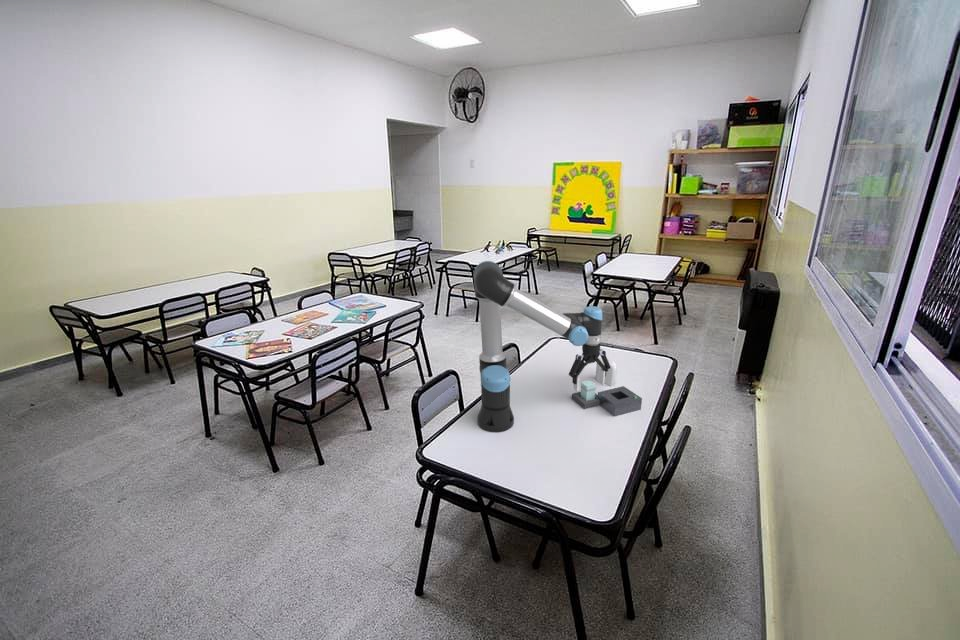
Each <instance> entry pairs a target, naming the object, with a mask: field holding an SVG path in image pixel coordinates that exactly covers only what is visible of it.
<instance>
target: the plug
mask: <svg viewBox="0 0 960 640" xmlns="http://www.w3.org/2000/svg"><path fill="white" fill-rule="evenodd" d="M596 391H597V385H596V383H594V382H593V381H591V380H587V381H582V382H580V392H581V394H580V397H581V398H583V399H584V400H585V401H588V400H592V399H595V393H596Z"/></svg>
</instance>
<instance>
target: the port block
mask: <svg viewBox="0 0 960 640" xmlns="http://www.w3.org/2000/svg"><path fill="white" fill-rule="evenodd" d="M597 395H598V396H597V398H598V399H599V400H600V407H601V408H602V409H603V410H605V411H607V413H609V414H610V415H611V416H612V417H614V418H615V417H618V416H622V415H625V414H629V413H633V412H637V411H640V410H642V401H643V398H642V397H641V396H639V395H638V394H637V393H635V392H633V391H631V390H630V389H629V388H628V387H625V386H624V385H622V386H619V387H618V386H617V387H614V388H610V389H607V390H602V391H598V392H597Z"/></svg>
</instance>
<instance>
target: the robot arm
mask: <svg viewBox="0 0 960 640" xmlns="http://www.w3.org/2000/svg"><path fill="white" fill-rule="evenodd" d="M472 277H473V281H474V282H473V283H474V284H473V285H474V296H475V298H476V300H477V299H478V302H479V320H480V321H479V322H480V333H481V335H480V336H481V348H482V349H481V350H482V352H481V353H479V356H478V357H479V358H478V360H479V366H478V367H479V368H478V369H479V374H480V387H481V388H480V389H481V392H480V394H481V406H480V410H479V413H478V416H477V424H478V426H479V427H480V428H481V429H482V430H484V431H487V432H490V433H501V432H505V431H508V430H509V429H511V428H512V427H513V426H514V424H515V417H514V416H515V415H514V414H513V410H512V408H511V374H510V371H509V370H508V365H507V364H508V363H507V354H506V353H505V352H504V351H503V336H502V334H503V333H502V316H501V315H502V313H501V312H502V311H501V307H507V308H510V309H511V310H514V311H516V312H517V313H519V314H521V315H523V316H524V317H526V318H528V319H530V320H532V321H534V322H536V323H537V324H539V325H542V326H543V327H544V328H546V329H548V330H550V331H552V332H554V333H556V334H557V335H560V336H561V337H563V338H564V339H566V340H568V341H569V342H570V343H571V344H572V346H575V347H581V346H582V347H581V350H582V353H581V354H575V358H574V361H573V363H572V366H571V368H570V370H569V372H568V376H570V377H571V378H572V384H573V390H574V391H576V392H579V391H580V390H579V389H580V388H579V386H580V377H579V376H580V374H581V373H582V371H584V368H585V367H586V366H588V364H593V363H596V365H597V364H598V365H599V366H600V367H601V368H602V369H600V378H599V381H598V382H599V384H601V385H602V386H605V384H604V382H605V377H606V372H608V369H610V368H611V367H610V364H609V362H608V360H609V359H608V357H607V353H606V351H605V350H604V349H601V342H602V340H601V339H602V325H603V310H602V308H601V307H599V306H594V305H593V306H592V305H591V306H585V308H584V309H583V312H566V313H565V312H563V313H562V312H559V311H558V310H556V309H554V308H552V307H551V306H548V305H546V304H545V303H543V302H542V301H539V299H536V298H534V297H533V296H531V295H529V294H528V293H526V292H524V291H522V290H521V289H518V288H517V287H516V284H515V283H513V282H511V281H510V280H508V279H507V278H506V277H505V276H504V274H503V270H502V267H501V266H500V265H498V264H497V263H496V262H494V261H492V260H484V261H482V262H479V264H477V266H476V267H475V268H474V269H473V276H472ZM599 356H600V358H602V360H603V363H604V365H605V366H604V365H603V363H602V362H601V361H600V360H599V359H600V358H599ZM607 359H608V360H607Z"/></svg>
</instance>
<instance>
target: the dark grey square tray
mask: <svg viewBox="0 0 960 640" xmlns="http://www.w3.org/2000/svg"><path fill="white" fill-rule="evenodd" d="M580 394H581V391H576V392H573V393H571V400H572V401H574V402H575V403H576V404H577V405H578V406H580V407H581V408H582V409H583V410H588V409H591V408H596V407H599V406H600V400H599V399H598V398H597V396H598V393H596V392H595V399H592V400H588V401H585V400H584V399H583V398H581V397H580ZM600 407H601V406H600Z"/></svg>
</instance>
